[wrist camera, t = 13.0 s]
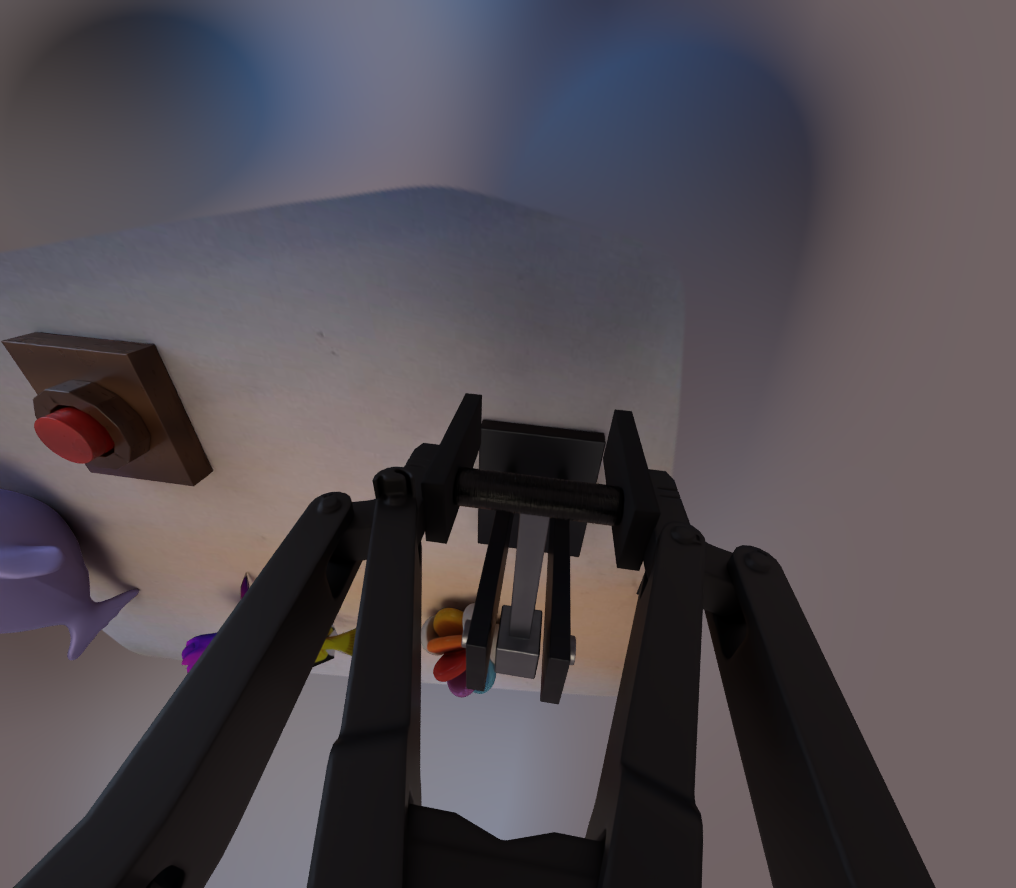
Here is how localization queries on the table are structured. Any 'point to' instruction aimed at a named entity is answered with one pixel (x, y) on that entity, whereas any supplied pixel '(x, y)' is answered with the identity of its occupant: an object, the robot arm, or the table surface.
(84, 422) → the button
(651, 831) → the robot arm
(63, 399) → the button block
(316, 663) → the toy
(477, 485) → the t-handle lever
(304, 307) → the table surface
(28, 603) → the toy whale
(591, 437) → the bracket
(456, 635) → the fanned rainbow disc cluster
